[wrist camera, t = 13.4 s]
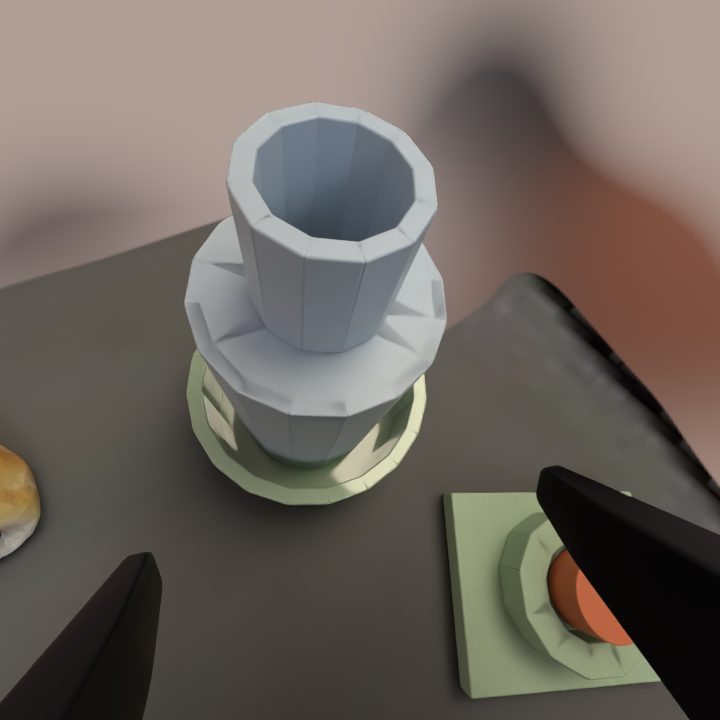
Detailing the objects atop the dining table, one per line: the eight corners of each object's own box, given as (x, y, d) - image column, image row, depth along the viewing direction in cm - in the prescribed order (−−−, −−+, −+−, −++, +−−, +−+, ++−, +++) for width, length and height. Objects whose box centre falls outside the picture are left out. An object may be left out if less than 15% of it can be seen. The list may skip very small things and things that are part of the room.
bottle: (371, 468, 19) (555, 366, 5) (239, 467, 18) (63, 340, 4) (369, 351, 21) (492, 79, 8) (252, 345, 20) (164, 22, 7)
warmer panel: (658, 669, 18) (723, 698, 15) (459, 687, 16) (492, 723, 14) (613, 492, 21) (661, 489, 18) (442, 493, 19) (466, 491, 17)
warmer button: (625, 629, 16) (662, 643, 14) (557, 634, 15) (587, 649, 14) (605, 546, 17) (638, 549, 15) (541, 548, 17) (568, 552, 15)
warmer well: (405, 504, 19) (435, 502, 15) (197, 507, 17) (166, 506, 13) (395, 327, 23) (417, 286, 18) (223, 317, 21) (205, 270, 17)
